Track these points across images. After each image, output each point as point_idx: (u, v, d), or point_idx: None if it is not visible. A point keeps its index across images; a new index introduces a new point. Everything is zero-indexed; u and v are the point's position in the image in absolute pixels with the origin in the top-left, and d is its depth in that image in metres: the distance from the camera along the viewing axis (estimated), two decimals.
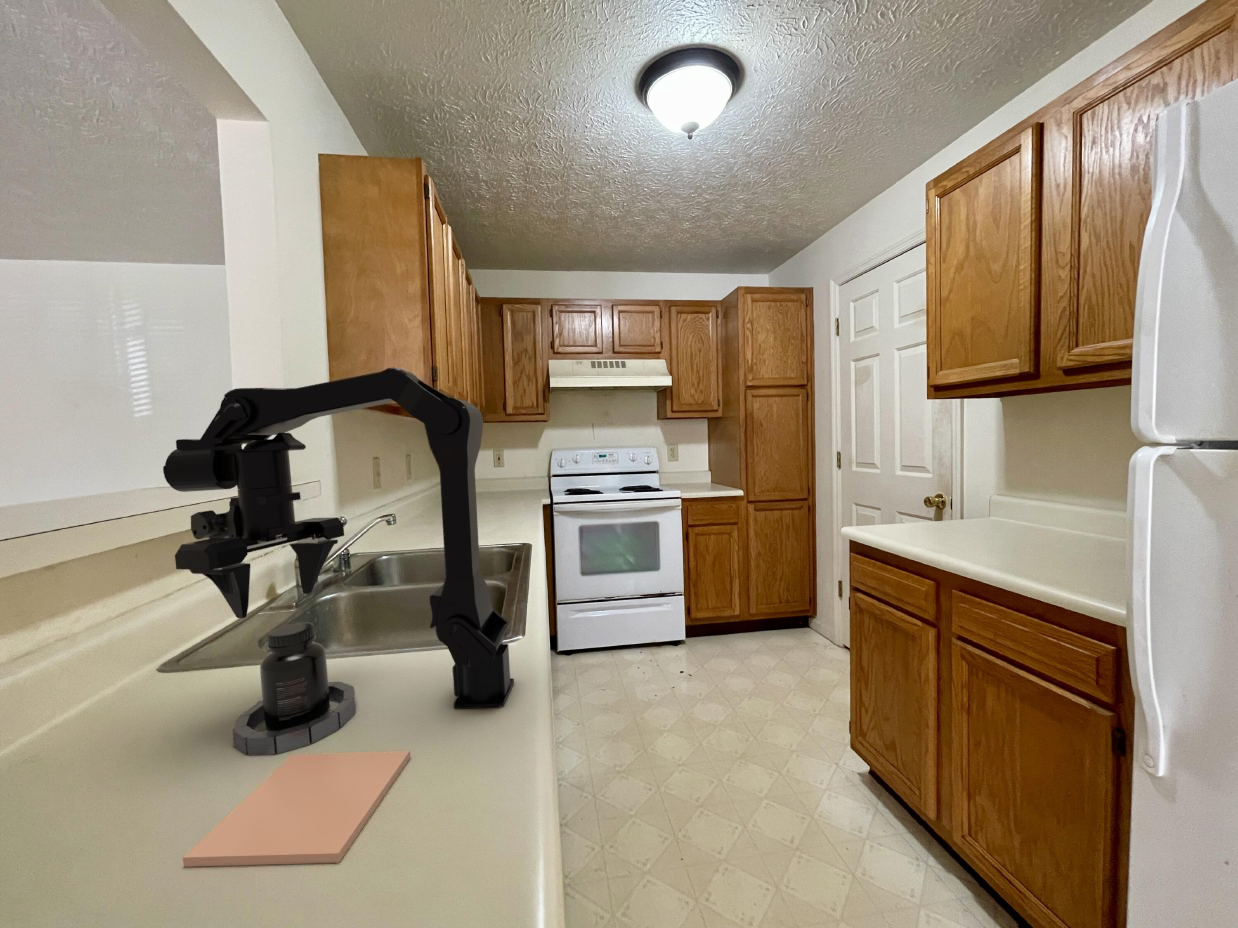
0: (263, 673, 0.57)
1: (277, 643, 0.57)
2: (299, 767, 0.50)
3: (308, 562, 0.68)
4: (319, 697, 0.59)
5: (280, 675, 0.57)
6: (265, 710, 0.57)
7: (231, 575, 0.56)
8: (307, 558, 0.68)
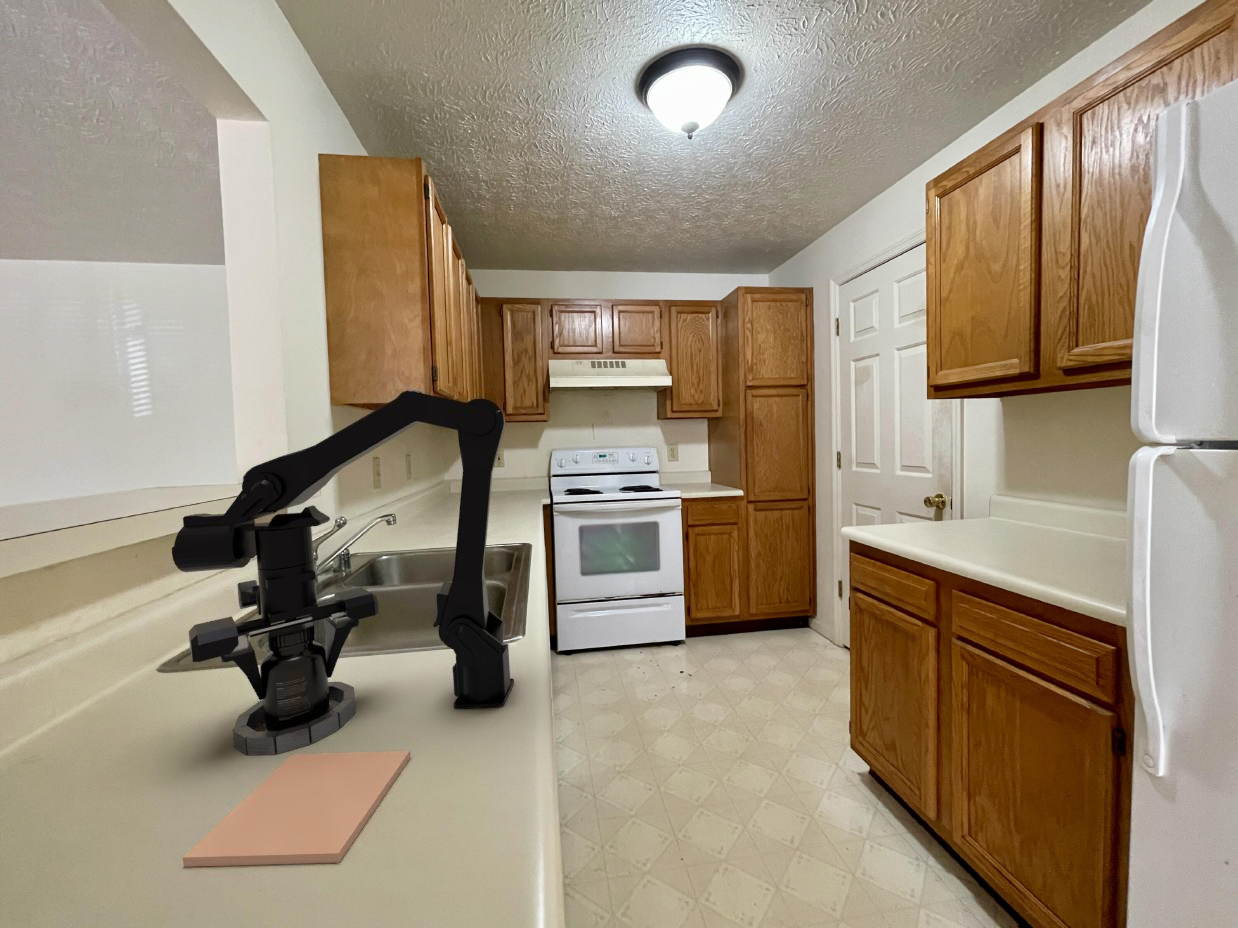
0: (263, 673, 0.57)
1: (277, 643, 0.57)
2: (299, 767, 0.50)
3: (328, 644, 0.62)
4: (319, 697, 0.59)
5: (280, 675, 0.57)
6: (265, 710, 0.57)
7: None
8: (328, 639, 0.62)
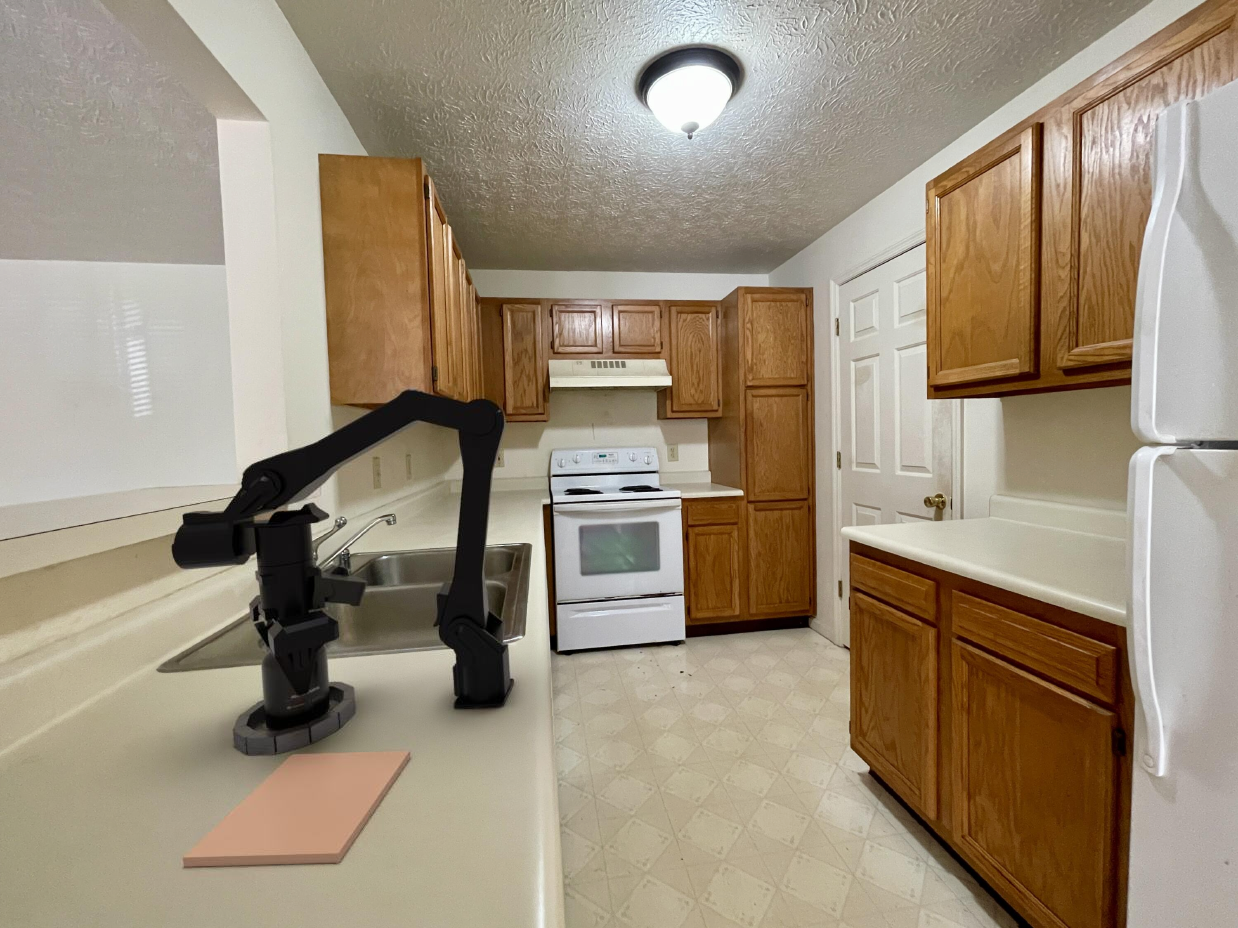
0: None
1: None
2: (299, 767, 0.50)
3: None
4: (272, 707, 0.57)
5: None
6: None
7: None
8: None
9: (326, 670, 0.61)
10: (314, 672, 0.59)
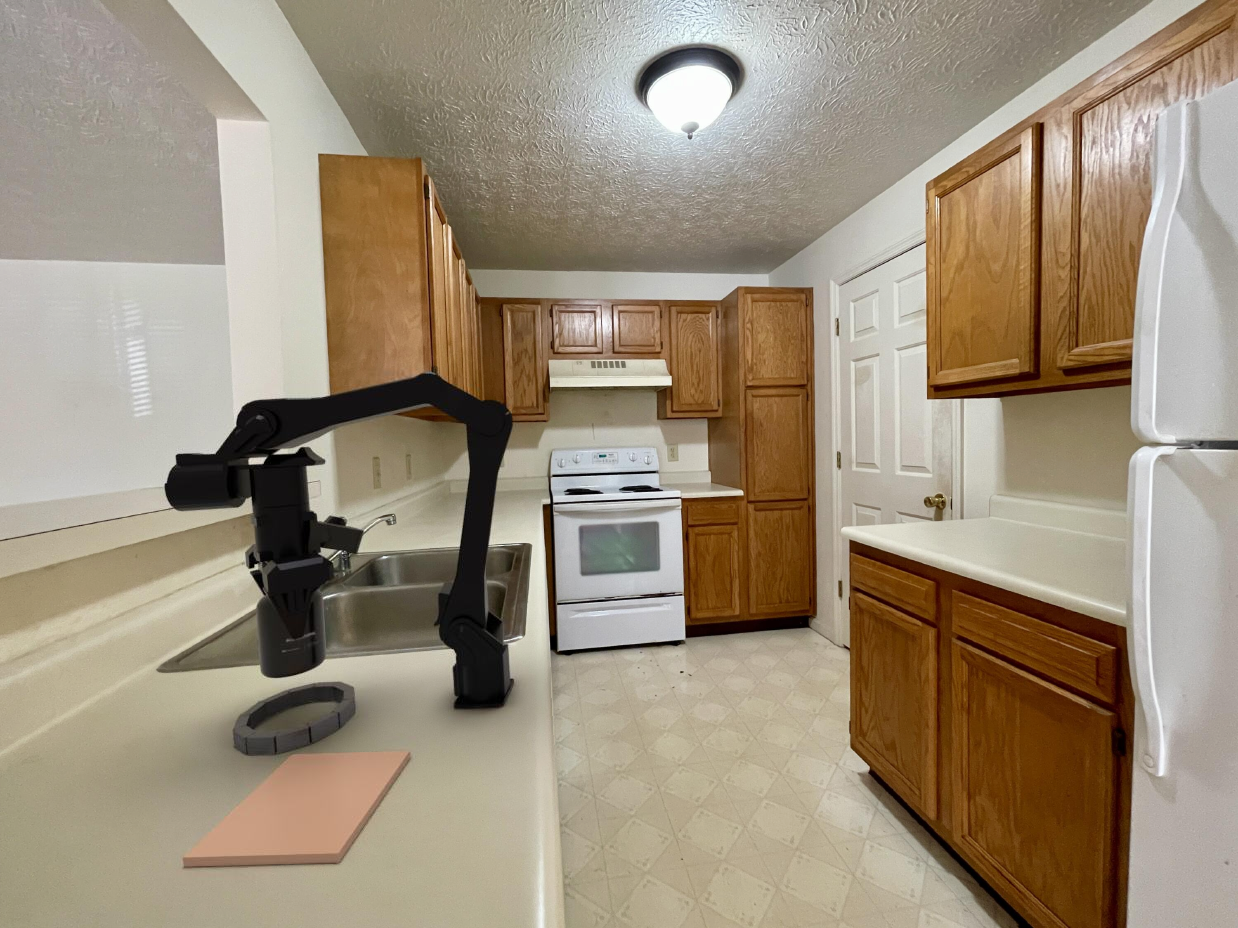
0: None
1: None
2: (299, 767, 0.50)
3: None
4: (267, 650, 0.56)
5: None
6: None
7: None
8: None
9: (322, 617, 0.60)
10: (309, 617, 0.58)
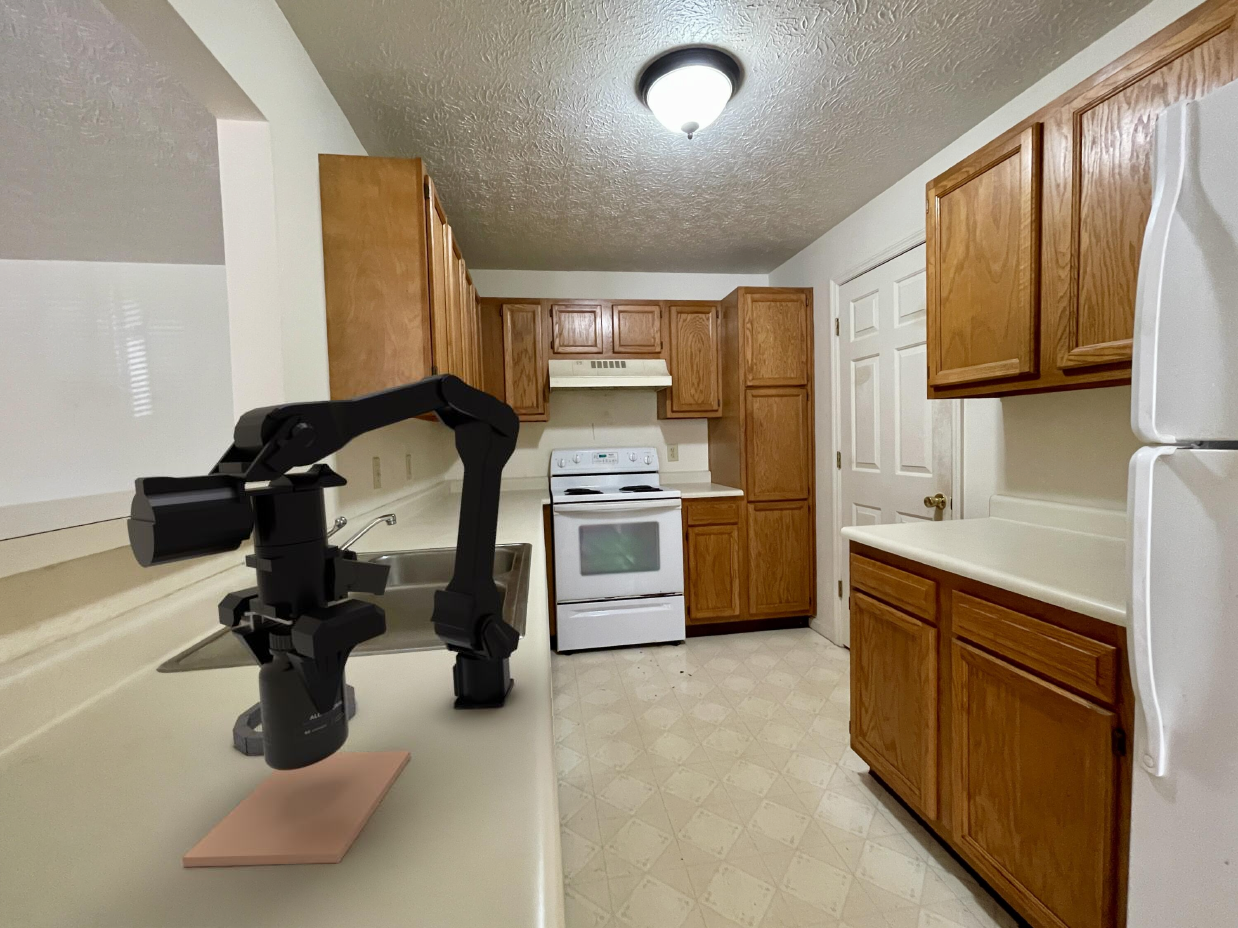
0: None
1: None
2: None
3: None
4: (283, 735, 0.42)
5: None
6: None
7: None
8: None
9: (345, 680, 0.47)
10: None
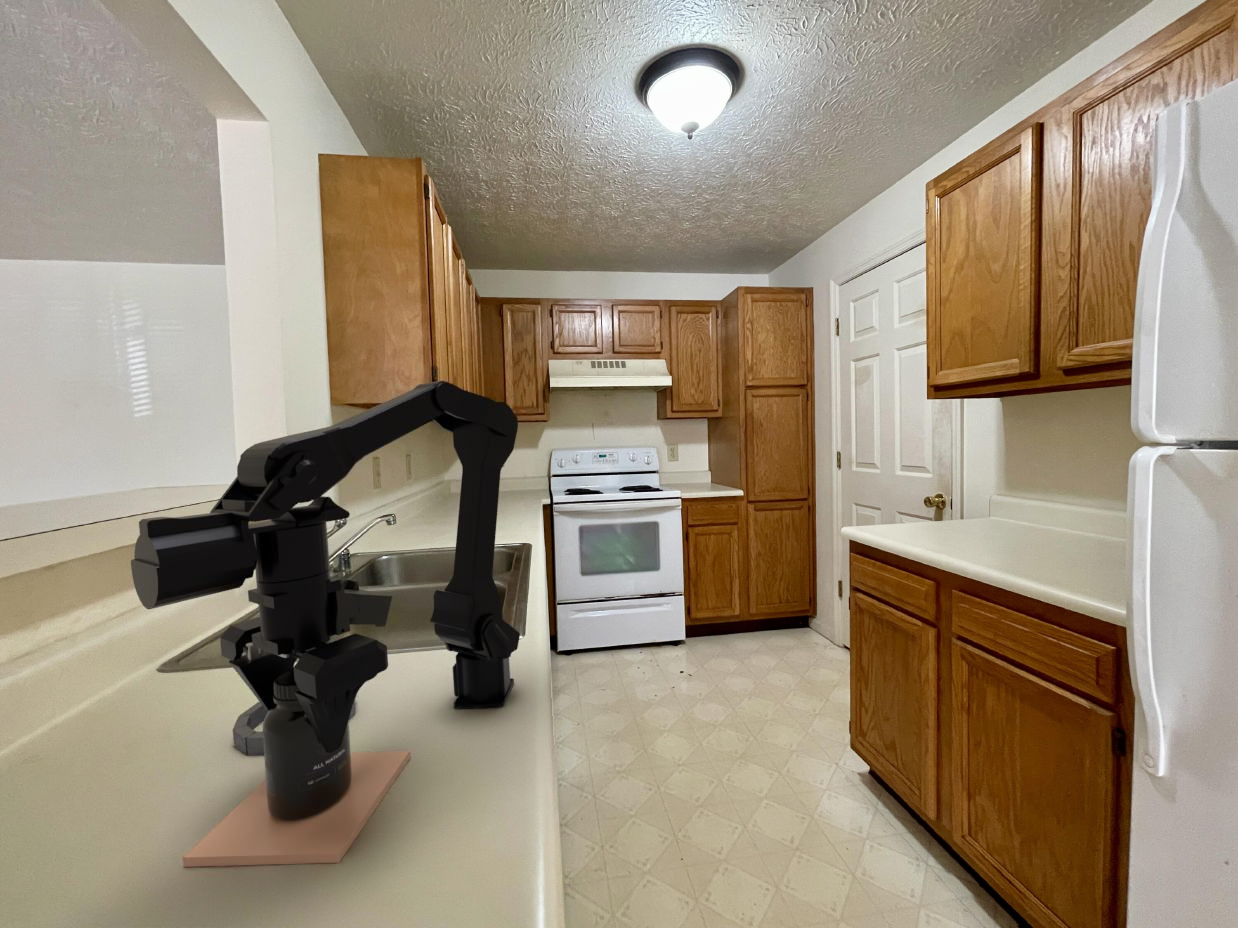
0: None
1: None
2: None
3: None
4: (286, 786, 0.43)
5: None
6: None
7: None
8: None
9: (348, 726, 0.47)
10: None
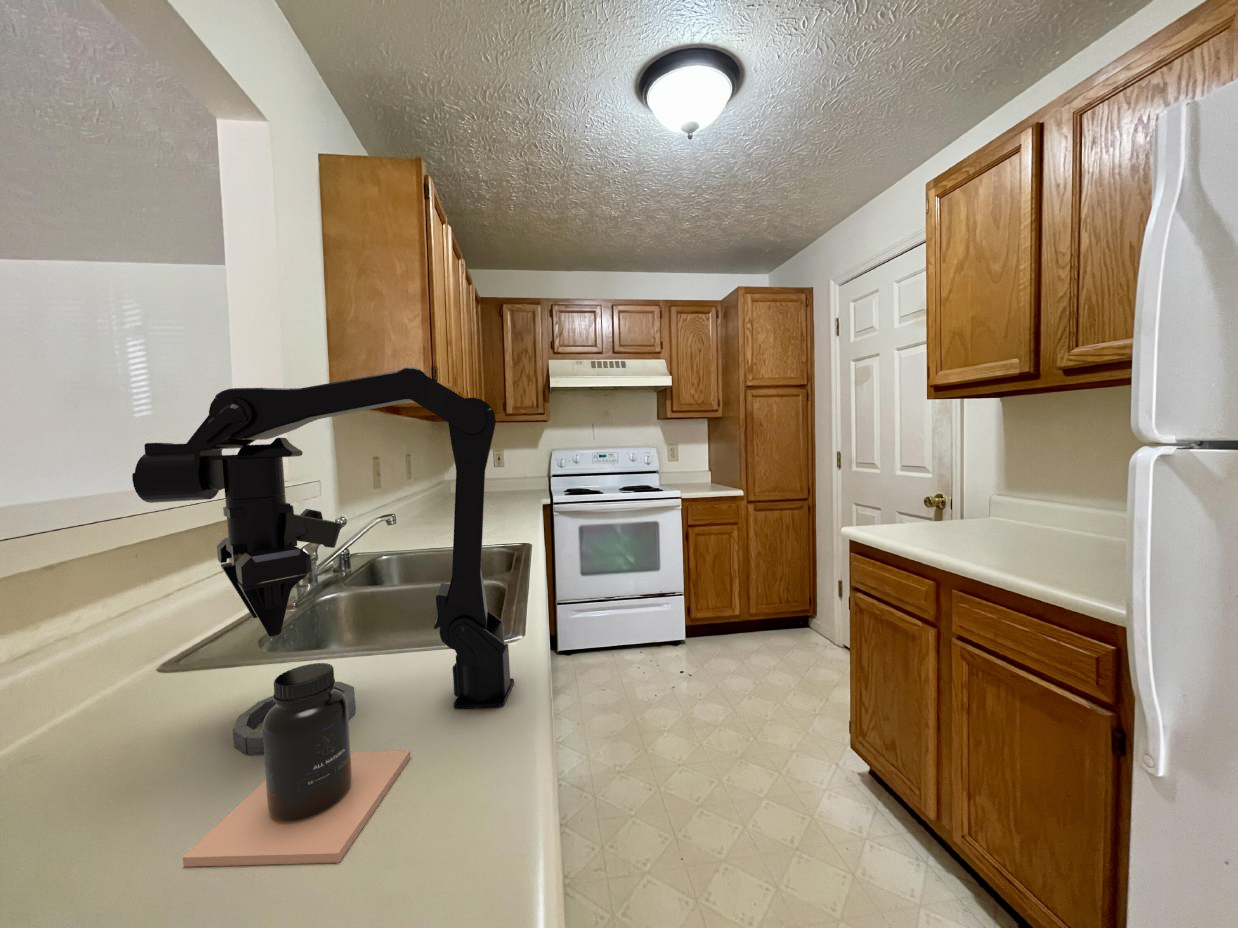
0: None
1: None
2: None
3: None
4: (286, 785, 0.43)
5: None
6: None
7: None
8: None
9: (348, 726, 0.47)
10: (340, 731, 0.45)
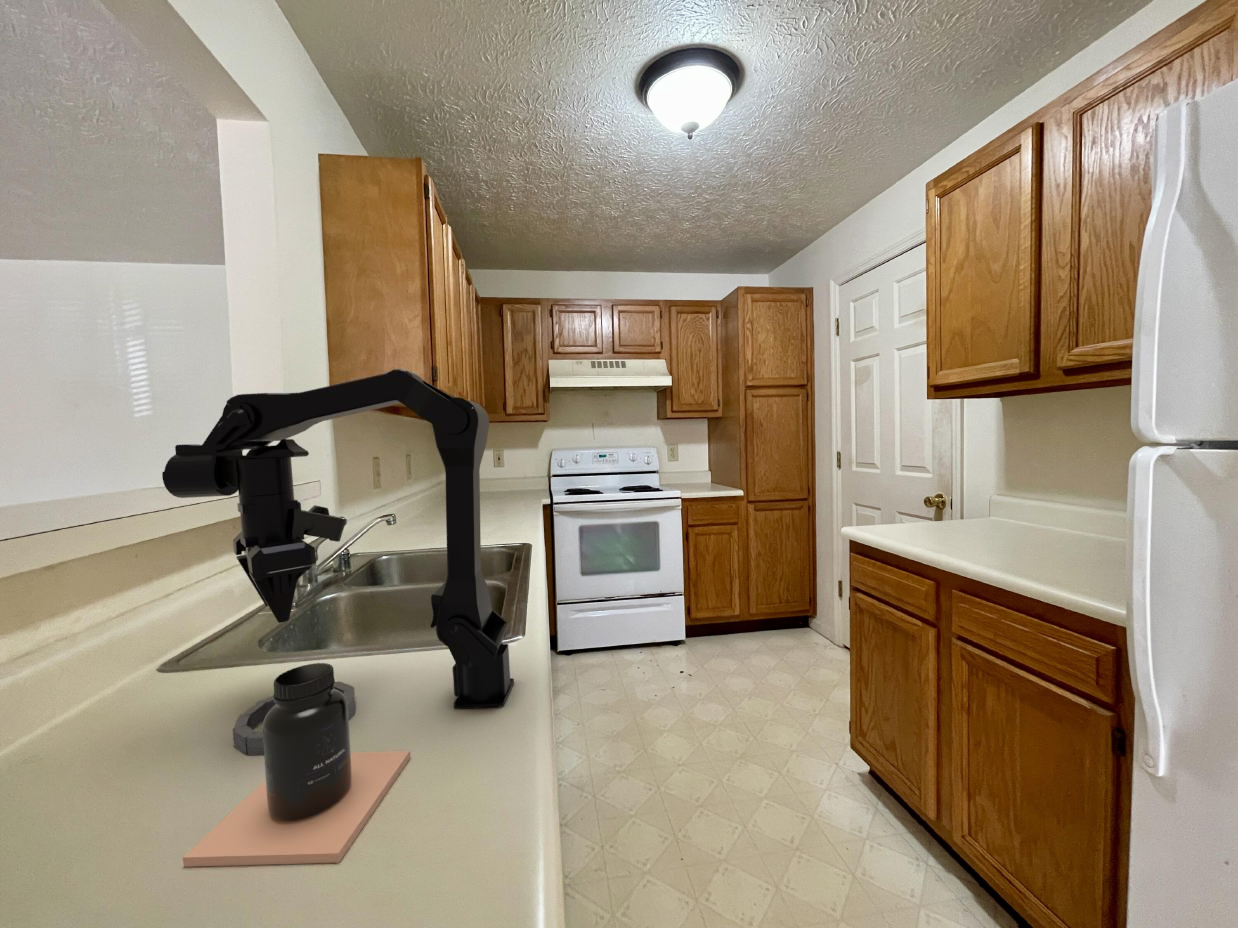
0: None
1: None
2: None
3: None
4: (286, 785, 0.43)
5: None
6: None
7: None
8: None
9: (348, 726, 0.47)
10: (340, 731, 0.45)
